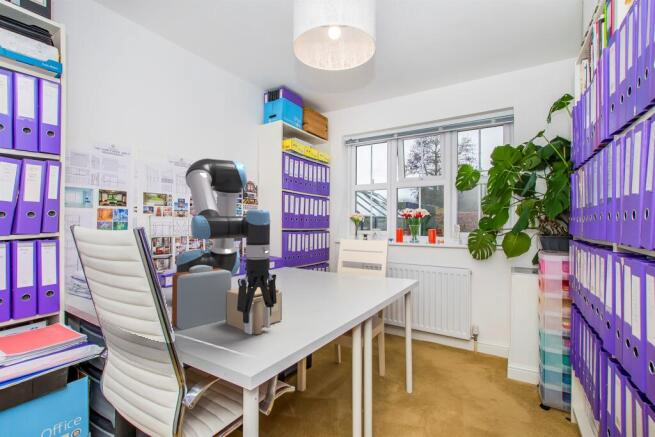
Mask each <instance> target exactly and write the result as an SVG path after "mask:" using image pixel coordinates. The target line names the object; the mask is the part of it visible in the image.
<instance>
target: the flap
mask: <svg viewBox="0 0 655 437" xmlns="http://www.w3.org/2000/svg"><path fill="white" fill-rule="evenodd" d="M276 300H277V303H276V304H273V305H274V307H271V316H270V325H271V324H274V323H276V322H280V321H282V320H283V318H282V316H283V314H282V313H283V306H282V305H283V291H281V292H280V291H279V292H278V293H276ZM264 306H265V303H264V299H263V296H261V297H256V298H253V301H252V305H251V309H250V312H252V334H254V335H259V334H262V333H263V332H262V331H263V328H262V327H263V307H264Z"/></svg>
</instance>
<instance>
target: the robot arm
mask: <svg viewBox="0 0 655 437" xmlns="http://www.w3.org/2000/svg"><path fill="white" fill-rule="evenodd" d="M247 177H248V176H247V171H246V167H245V166H244V164H243V163H242V162H240V161H236V160H227V159H226V160H225V159H217V158H202V159H199V160H197V161H195V162H194V163H192V164H190V166H189V167H188V168H187V170H186V171H185V183H186V185H187V187H188V188H189V190H190V194H191V199H192V202H193V203H192V204H193V208H194V212H195V215H193V216H192V217H191V225H190V227H191V228H190V229H191V230H190V231H191V237H192V238H193V239H197V240H198V239H199V240H214V241H213V245H211V247H210V248H209V252H206V251H205V249H194V250H193V249H192V250H187V251H182V252H180V253H179V254H177V255H176V261H175V262H176V263H175V268H176V269H175V270H176V271H175V272H176V273H181V272H189V269H190V268H191V267H194V266H197V265H207V266H211V267H213V269H217V268H219V269H223V270H227V271H230V272H231V277H233V276H235V275H236V274H237V273H238V271H239V269H240V266H241V264H240V263H241V256H240V255H241V254H240V252H239V251H237V250H238V249H237V248H236V246H235V245H234V243H235V239H245V257H246V259H245V271H246V274H245V277H243V278H238V279H237V283H238V284H237V285H238V289H239V291H238V303H237V311H240V312H243V323H245V330H244V333H246V334H248V335H252V334H253V329H252V312H250V309H251V305H252V301H253V298H254V294H255V291H256V290H257V288H258V287H259V288H260V289H261V292H262V296H263V299H264V303H265V306H264V307H263V326H262V327H263V328H267V329H270V328H271V324H270V316H271V307H274V305H273V304H276V303H277V300H276V289H277V288H276V280H277V274H274V273H270V272H269V271H270V269H271V267H270V266H271V265H270V264H271V262H270V261H271V260H270V259H271V258H270V256H271V251H270V250H271V215H270V214H271V213H270V211H269V210H268V209H248V210H247V211H246V213H245V215H244V216H242V215H241V216H239V215H238V216H237V208H238V207H237V206H238V205H237V204H238V196H239V195H241V193H242V189H243V190H244V189H245V188H246V187H247V183H248V182H247ZM212 187H213V189H212ZM213 191H214V192H213ZM214 193H215V194H216V196H217V197H216V198H215V194H214ZM176 273H175V274H176ZM252 287H253V288H252ZM246 291H247V293H246Z"/></svg>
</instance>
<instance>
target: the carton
mask: <svg viewBox="0 0 655 437" xmlns="http://www.w3.org/2000/svg"><path fill="white" fill-rule="evenodd" d="M252 288H253V287H252ZM238 291H239V288H235V289H231V290H229V291H226V320H225V324H226V325H229V326H232V327H235V328H237V329H240V330H242V331H245V323H243V312H240V311H237V303H238ZM278 292H280V289H279V288H276V293H278ZM246 293H247V291H246ZM261 296H262V292H261V289H260V288H259V287H258V288H257V290H256V291H255V294H254V298H256V297H261Z"/></svg>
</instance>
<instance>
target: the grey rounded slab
mask: <svg viewBox="0 0 655 437" xmlns="http://www.w3.org/2000/svg"><path fill="white" fill-rule="evenodd" d="M171 278H172V279H171V280H172V281H171V288H172V289H171V290H172V292H171V308H172V309H171V323H172V325H173V326H174V327H176V328H178V329H179V330H183V331H184V330H188V329H192V328H196V327H200V326H204V325H209V324H213V323H217V322H218V323H219V322H223V321H226V291H229V290H232V276H231V272H230V271H227V270H223V269H219V268H217V269H213V267H211V266H207V265H197V266H194V267H191V268H190V269H189V272H181V273H173V275H172V277H171Z"/></svg>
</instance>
